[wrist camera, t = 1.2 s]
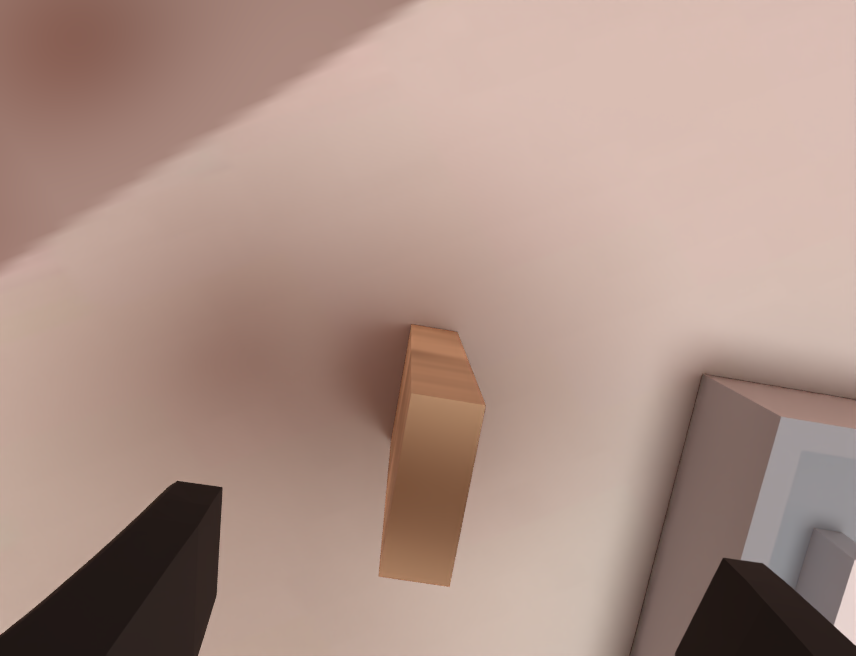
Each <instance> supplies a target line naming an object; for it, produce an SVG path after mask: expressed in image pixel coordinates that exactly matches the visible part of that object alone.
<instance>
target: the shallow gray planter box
mask: <svg viewBox="0 0 856 656" xmlns="http://www.w3.org/2000/svg"><path fill="white" fill-rule="evenodd" d="M723 558H730V559H737V560H744V561H751V562H758V563H763V564H764V565H766V566H767V567H768V568H769V569H771V570H772V571H773V572H774V573H775V574H777V575H778V576H779V577H780V578H781V579H783V580H784V581H785V582H786V583H787V584H788V585H790V586H791V587H792V588H793V589H794V590H795V591H796V592H797V593H799V594H800V595H801V596H802V597H803V598H804V599H805V600H806V601H807V602H809V603H810V604H811V605H812V606H813V607H814V608H815V609H816V610H817V611H818V612H820V613H821V614H822V615H823V616H824V617H825V618H826V619H827V620H828V621H829V622H831V623H832V624H833V625H834V626H835V627H836V628H837V629H838V630H839V631H840V632H841V633H842V634H844V635H845V636H846V637H847V638H848V639H849V640H850V641H851V642H852V643H853V644H854V645H856V400H854V399H848V398H842V397H836V396H830V395H824V394H819V393H813V392H807V391H801V390H795V389H789V388H783V387H777V386H771V385H766V384H760V383H754V382H748V381H742V380H736V379H730V378H724V377H718V376H713V375H707V374H703V375H702V379H701V382H700V386H699V390H698V394H697V398H696V402H695V406H694V410H693V413H692V417H691V421H690V425H689V429H688V433H687V437H686V440H685V444H684V448H683V452H682V456H681V460H680V464H679V468H678V471H677V475H676V479H675V483H674V487H673V491H672V495H671V498H670V502H669V506H668V510H667V514H666V518H665V522H664V525H663V529H662V533H661V537H660V541H659V545H658V549H657V553H656V556H655V560H654V564H653V568H652V572H651V576H650V580H649V583H648V587H647V591H646V595H645V599H644V603H643V607H642V611H641V614H640V618H639V622H638V626H637V630H636V634H635V638H634V641H633V645H632V649H631V653H630V656H675V652H676V650H677V648H678V646H679V644H680V642H681V640H682V638H683V636H684V634H685V632H686V630H687V628H688V626H689V624H690V622H691V620H692V618H693V616H694V614H695V612H696V610H697V608H698V606H699V604H700V602H701V600H702V598H703V596H704V594H705V592H706V590H707V588H708V586H709V584H710V582H711V580H712V578H713V576H714V574H715V572H716V570H717V569H718V567H719V565H720V563H721V561H722V559H723Z"/></svg>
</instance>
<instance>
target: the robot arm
mask: <svg viewBox="0 0 856 656" xmlns="http://www.w3.org/2000/svg"><path fill="white" fill-rule="evenodd" d="M222 488H223V487H217V486H210V485H203V484H195V483H188V482H181V481H177V482H175V483H174V484H172V485H170V486H169V487H168V488H167V489H166V490H165V491H164V492H163V493H162V494H161V495H160V496H158V497H157V498H156V499H155V500H154V501H153V502H152V503H151V504H150V505H149V506H148V507H147V508H146V509H145V510H144V511H143V512H142V513H141V514H140V515H139V516H138V517H137V518H135V519H134V520H133V521H132V522H131V523H130V524H129V525H128V526H127V527H126V528H125V529H124V530H123V531H122V532H120V533H119V534H118V535H117V536H116V537H115V538H114V539H113V540H112V541H111V542H109V543H108V544H107V545H106V546H105V547H104V548H103V549H102V550H101V551H100V552H99V553H97V554H96V555H95V556H94V557H93V558H92V559H91V560H89V561H88V562H87V563H86V564H85V565H84V566H82V567H81V568H80V569H79V570H78V571H77V572H76V573H74V574H73V575H72V576H71V577H70V578H69V579H67V580H66V581H65V582H64V583H63V584H62V585H61V586H59V587H58V588H57V589H56V590H55V591H54V592H53V593H51V594H50V595H49V596H48V597H47V598H46V599H44V600H43V601H42V602H41V603H40V604H38V605H37V606H36V607H35V608H34V609H32V610H31V611H30V612H29V613H27V614H26V615H25V616H24V617H22V618H21V619H20V620H19V621H17V622H16V623H15V624H14V625H12V626H11V627H10V628H9V629H7V630H6V631H5V632H4V633H2V634H1V635H0V656H198V654H199V650H200V647H201V644H202V641H203V638H204V635H205V631H206V628H207V625H208V622H209V618H210V615H211V612H212V608H213V605H214V602H215V599H216V595H217V577H218V559H219V542H220V524H221V506H222ZM675 656H856V645H854V644H853V643H852V642H851V641H850V640H849V639H848V638H847V637H846V636H845V635H844V634H842V633H841V632H840V631H839V630H838V629H837V628H836V627H835V626H834V625H833V624H832V623H831V622H829V621H828V620H827V619H826V618H825V617H824V616H823V615H822V614H821V613H820V612H818V611H817V610H816V609H815V608H814V607H813V606H812V605H811V604H810V603H809V602H807V601H806V600H805V599H804V598H803V597H802V596H801V595H800V594H799V593H797V592H796V591H795V590H794V589H793V588H792V587H791V586H790V585H788V584H787V583H786V582H785V581H784V580H783V579H781V578H780V577H779V576H778V575H777V574H775V573H774V572H773V571H772V570H771V569H769V568H768V567H767V566H766V565H764V564H763V563H758V562H751V561H744V560H737V559H730V558H723V559H722V561H721V563H720V565H719V567H718V569H717V570H716V572H715V574H714V576H713V578H712V580H711V582H710V584H709V586H708V588H707V590H706V592H705V594H704V596H703V598H702V600H701V602H700V604H699V606H698V608H697V610H696V612H695V614H694V616H693V618H692V620H691V622H690V624H689V626H688V628H687V630H686V632H685V634H684V636H683V638H682V640H681V642H680V644H679V646H678V648H677V650H676V652H675Z"/></svg>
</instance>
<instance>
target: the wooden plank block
mask: <svg viewBox="0 0 856 656" xmlns="http://www.w3.org/2000/svg"><path fill="white" fill-rule="evenodd" d="M485 407H486V405H485V402H484V400H483V397H482V395H481V392H480V389H479V387H478V384H477V382H476V379H475V377H474V374H473V371H472V369H471V366H470V364H469V361H468V359H467V356H466V353H465V351H464V348H463V346H462V343H461V340H460V338H459V335H458V333H457V332H454V331H449V330H443V329H437V328H431V327H425V326H419V325H413V324H411V329H410V335H409V341H408V346H407V352H406V358H405V364H404V369H403V375H402V381H401V386H400V392H399V398H398V404H397V409H396V415H395V421H394V426H393V432H392V438H391V446H390V457H389V468H388V479H387V490H386V501H385V512H384V523H383V534H382V544H381V555H380V566H379V577H386V578H393V579H400V580H406V581H413V582H420V583H427V584H434V585H440V586H447V587H450V582H451V577H452V572H453V567H454V562H455V557H456V552H457V547H458V542H459V537H460V532H461V527H462V522H463V517H464V512H465V507H466V502H467V497H468V492H469V487H470V482H471V477H472V472H473V467H474V462H475V457H476V452H477V447H478V442H479V437H480V432H481V427H482V422H483V417H484V412H485Z"/></svg>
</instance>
